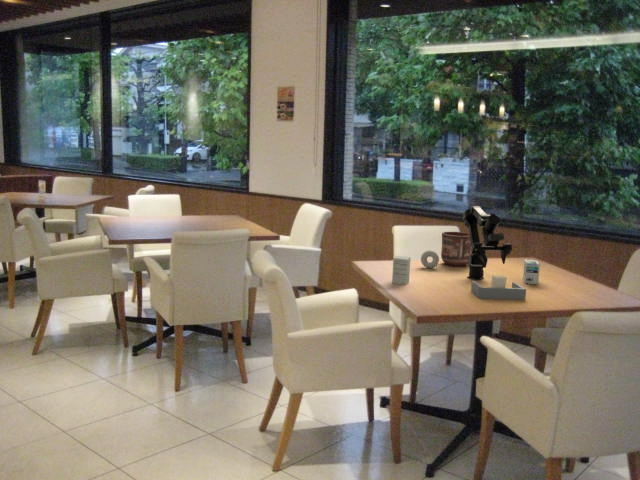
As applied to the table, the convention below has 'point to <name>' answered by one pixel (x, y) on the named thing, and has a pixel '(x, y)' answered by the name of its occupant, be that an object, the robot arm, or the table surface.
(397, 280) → the supplement box
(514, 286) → the open-front crate
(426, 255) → the grey ring
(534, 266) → the light bulb box
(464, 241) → the pottery
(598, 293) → the table surface
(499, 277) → the cream block
